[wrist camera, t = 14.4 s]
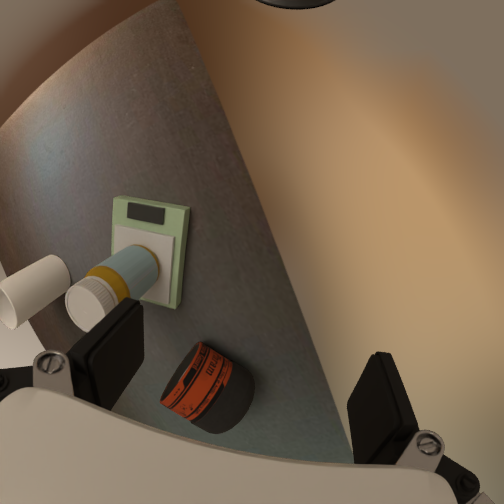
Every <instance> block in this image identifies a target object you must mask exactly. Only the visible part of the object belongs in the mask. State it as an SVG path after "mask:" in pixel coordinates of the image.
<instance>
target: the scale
mask: <svg viewBox="0 0 504 504" xmlns="http://www.w3.org/2000/svg"><path fill="white" fill-rule="evenodd" d="M189 215H190V207H186V206H181V205H175V204H170V203H164V202H158V201H153V200H147V199H141V198H135V197H129V196H123V195H121V196H118V197H114V199H113V217H112V256H113V255H114V254H116V253H117V252H119V251H121V250H122V249H124V248H126V247H128V246H130V245H133V244H137V245H142V246H144V247H146V248H148V249H149V250H150V251H151V252H152V253H153V254H154V255H155V257H156V258H157V261H158V263H159V269H160V273H159V277H158V280H157V281H156V283H155V284H154V285H153V286H152V287H151V288H150V289H149V290H148V291H147V292H146V293H145V294H144V295H143V296H142V297H141V298H140V300H144V301H147V302H151V303H154V304H158V305H162V306H165V307H169V308H173V309H176V308H177V307H178V305H179V304H180V303H181V293H182V281H183V270H184V260H185V250H186V241H187V232H188V223H189Z"/></svg>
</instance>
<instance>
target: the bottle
mask: <svg viewBox="0 0 504 504" xmlns="http://www.w3.org/2000/svg"><path fill="white" fill-rule="evenodd" d="M159 273H160V269H159V263H158V261H157V258H156V257H155V255H154V254H153V253H152V252H151V251H150V250H149V249H148V248H146V247H144V246H142V245H137V244H133V245H130V246H128V247H126V248H124V249H122V250H121V251H119V252H117V253H116V254H114V255H113V256H111V257H109V258H108V259H106V260H105V261H103V262H101V263H100V264H98V265H97V266H95V267H94V268H92V269H91V270H90V271H89V272H87V274H86V276H85V277H84V279H82V280H80V281H79V282H77V283H76V284H74V285H73V286H71V287H70V288H69V289H68V291H67V293H66V296H65V305H66V309H67V312H68V314H69V316H70V318H71V319H72V320H73V322H74V323H75V324H76V325H77V326H78V327H79V328H80V329H82V330H83V331H85V332H87V333H88V332H89V331H90V330H91V329H92V328H93V327H94V326H95V325H96V324H97V323H98V322H100V321H101V320H102V319H103V318H104V317H105V316H106V315H107V314H108V313H109V312H110V311H111V310H112V309H113V308H114V307H115V306H117V305H118V304H119V303H120V302H121V301H122V300H123V299H124V298H125V297H128V298H132V299H135V300H139V299H140V298H141V297H142V296H143V295H144V294H145V293H146V292H147V291H148V290H149V289H150V288H151V287H152V286H153V285H154V284H155V283H156V281H157V280H158V277H159Z"/></svg>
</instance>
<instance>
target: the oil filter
mask: <svg viewBox="0 0 504 504" xmlns="http://www.w3.org/2000/svg"><path fill="white" fill-rule="evenodd" d="M254 390H255V383H254V379H253V376H252V375H251V373H250V372H249V371H248V370H246V369H245V368H243V367H241V366H240V365H238V364H236V363H235V362H233V361H231V360H228V359H226V358H225V357H223V356H222V355H220V354H218V353H217V352H215V351H214V350H212V349H211V348H209V347H208V346H206V345H205V344H203V343H202V342H198V343H197V344H196V345H195V346H194V347H193V348H192V349H191V351H190V352H189V353H188V354H187V356H186V357H185V358H184V360H183V361H182V363H181V364H180V365H179V367H178V368H177V370H176V371H175V373H174V375H173V376H172V378H171V379H170V381H169V383H168V384H167V386H166V388H165V390H164V392H163V394H162V396H161V399H160V403H161V404H162V405H164V406H166V407H167V408H169V409H170V410H172V411H174V412H175V413H177V414H179V415H180V416H182V417H184V418H186V419H187V420H189V421H191V423H192V424H194V425H196V426H198V427H199V428H201V429H203V430H205V431H207V432H209V433H213V434H220V433H223V432H226V431H228V430H230V429H231V428H233V427H234V426H235V425H236V424H238V423H239V422H240V421H241V419H242V418H243V417H244V416H245V414H246V413H247V411H248V409H249V407H250V405H251V403H252V400H253V396H254Z"/></svg>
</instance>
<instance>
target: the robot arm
mask: <svg viewBox="0 0 504 504" xmlns="http://www.w3.org/2000/svg"><path fill="white" fill-rule="evenodd" d="M143 360H144V323H143V306H142V305H140V302H139V301H138V300H135V299H132V298H128V297H125V298H124V299H123V300H122V301H121V302H120V303H119V304H118V305H117V306H115V307H114V308H113V309H112V310H111V311H110V312H109V313H108V314H107V315H106V316H105V317H104V318H103V319H102V320H101V321H100V322H98V323H97V324H96V325H95V326H94V327H93V328H92V329H91V330H90V331H89V332H88V333H87V334H86V335H85V336H83V337H82V338H81V339H80V340H79V341H78V342H77V343H76V344H75V345H74V346H73V347H72V348H71V349H70V350H69V351H68V352H67V353H66V354H64V353H62V352H61V351H57V350H47V351H44V352H41V353H40V354H38V355H37V356H36V357H35V359H34V362H33V366H26V367H17V368H8V369H0V504H494V502H492V500H491V499H490V498H489V497H488V496H487V495H486V494H485V493H484V492H482V493H481V494H480V493H479V489H480V483H479V480H478V478H477V477H476V476H475V474H473V473H472V472H471V471H468V470H467V469H466V468H464V467H462V466H461V465H459V464H458V463H456V462H454V461H453V460H451V459H450V458H448V457H447V456H445V455H443V453H444V450H445V445H444V442H443V440H442V438H441V437H440V436H439V435H438V434H436V433H435V432H433V431H430V430H419V427H418V423H417V420H416V418H415V415H414V412H413V409H412V407H411V404H410V401H409V398H408V395H407V393H406V390H405V388H404V385H403V382H402V380H401V377H400V375H399V372H398V370H397V367H396V365H395V362H394V360H393V358H392V355H391V354H390V353H386V352H376V353H375V355H374V354H373V355H371V357H370V358H369V360H368V363H367V364H366V367H365V369H364V371H363V373H362V375H361V377H360V379H359V381H358V382H357V384H356V386H355V388H354V390H353V392H352V394H351V396H350V398H349V400H348V402H347V411H348V418H349V424H350V432H351V439H352V447H353V455H354V464H344V463H327V462H314V461H304V460H295V459H287V458H280V457H273V456H266V455H260V454H255V453H249V452H244V451H239V450H234V449H229V448H225V447H220V446H216V445H212V444H208V443H204V442H200V441H197V440H193V439H189V438H186V437H182V436H179V435H176V434H172V433H169V432H166V431H163V430H160V429H157V428H154V427H151V426H148V425H145V424H143V423H140V422H137V421H134V420H132V419H129V418H126V417H124V416H121V415H119V414H116V413H114V412H111V409H112V408H113V406H114V405H115V403H116V402H117V400H118V399H119V397H120V396H121V394H122V393H123V391H124V390H125V388H126V387H127V385H128V384H129V382H130V381H131V379H132V378H133V376H134V375H135V373H136V372H137V370H138V369H139V367H140V366H141V364H142V363H143Z"/></svg>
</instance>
